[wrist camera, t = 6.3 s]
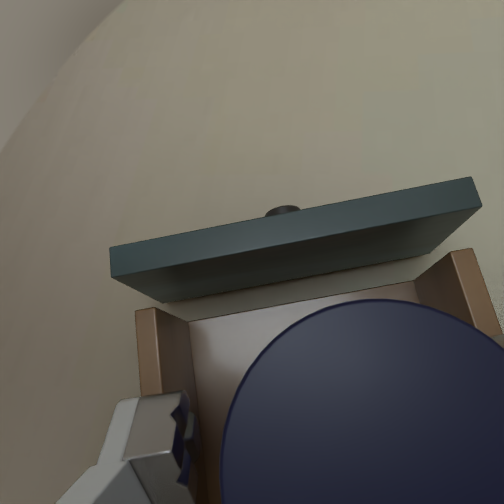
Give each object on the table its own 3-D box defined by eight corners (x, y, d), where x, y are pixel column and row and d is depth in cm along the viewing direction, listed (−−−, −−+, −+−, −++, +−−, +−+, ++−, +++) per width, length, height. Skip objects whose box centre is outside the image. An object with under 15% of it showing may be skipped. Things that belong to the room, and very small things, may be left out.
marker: (264, 395, 17) (150, 482, 4) (312, 338, 18) (357, 237, 4) (323, 451, 16) (441, 814, 3) (371, 389, 17) (662, 461, 3)
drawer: (157, 258, 21) (106, 217, 15) (415, 208, 20) (461, 146, 14) (190, 597, 16) (135, 714, 11) (523, 549, 15) (649, 649, 10)
